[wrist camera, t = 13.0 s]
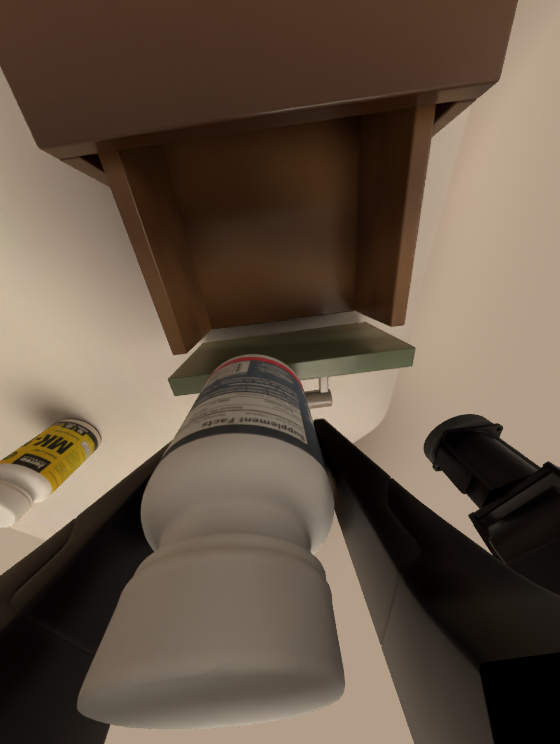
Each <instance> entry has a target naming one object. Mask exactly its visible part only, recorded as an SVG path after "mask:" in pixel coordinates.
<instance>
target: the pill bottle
mask: <svg viewBox="0 0 560 744" xmlns="http://www.w3.org/2000/svg"><path fill="white" fill-rule="evenodd" d="M333 515H334V497H333V491H332V487H331V483H330V479H329V475H328V472H327V468H326V464H325V461H324V458H323V454H322V451H321V448H320V444H319V441H318V438H317V434H316V431H315V427H314V424H313V420H312V417H311V413H310V410H309V407H308V403H307V400H306V396H305V393H304V390H303V387H302V384H301V382H300V380H299V378H298V377H297V375H296V374H295V373H294V371H293V370H292V369H291V368H289V367H288V366H287V365H286V364H284V363H283V362H281V361H279V360H277V359H275V358H272V357H269V356H265V355H258V354H248V355H241V356H238V357H234V358H232V359H230V360H228V361H226V362H224V363H223V364H221V365H220V366H219V367H218V368H217V369H216V370H215V371H214V372H213V373H212V375H211V376H210V377H209V379H208V380H207V382H206V384H205V386H204V387H203V389H202V391H201V393H200V394H199V396H198V398H197V400H196V401H195V403H194V405H193V407H192V408H191V410H190V412H189V414H188V415H187V417H186V419H185V420H184V422H183V424H182V425H181V427H180V429H179V430H178V432H177V434H176V436H175V437H174V439H173V440H172V442H171V444H170V445H169V447H168V448H167V450H166V451H165V453H164V454H163V456H162V458H161V459H160V461H159V463H158V465H157V467H156V469H155V470H154V472H153V474H152V476H151V478H150V480H149V482H148V484H147V487H146V489H145V492H144V494H143V499H142V503H141V522H142V527H143V531H144V534H145V537H146V539H147V541H148V543H149V545H150V546H151V548H152V549H153V551H154V553H152V554H151V555H150V556H148V557H147V558H146V559H145V560H144V561H143V562H142V563H141V564H140V565H139V567H138V569H137V570H136V572H135V574H134V577H133V578H132V579H131V580H130V581H129V582H128V583H127V585H126V586H125V588H124V590H123V591H122V593H121V596H120V599H119V601H118V604H117V607H116V609H115V611H114V614H113V616H112V618H111V621H110V623H109V625H108V627H107V630H106V632H105V634H104V636H103V639H102V641H101V643H100V646H99V648H98V650H97V652H96V655H95V657H94V659H93V661H92V664H91V666H90V668H89V670H88V673H87V675H86V677H85V680H84V682H83V685H82V688H81V690H80V693H79V696H78V700H77V709H78V711H79V712H80V713H81V714H82V715H84V716H86V717H88V718H91V719H93V720H96V721H99V722H103V723H107V724H112V725H117V726H124V727H130V728H147V729H208V728H223V727H233V726H242V725H250V724H257V723H265V722H272V721H278V720H283V719H288V718H293V717H296V716H300V715H303V714H307V713H310V712H314V711H316V710H319V709H322V708H325V707H327V706H330V705H331V704H333V703H334V702H336V701H337V700H339V699H340V697H341V696H342V695H343V692H344V688H345V679H344V669H343V664H342V659H341V653H340V647H339V641H338V635H337V629H336V624H335V617H334V612H333V606H332V594H331V590H330V587H329V584H328V583H327V581H326V575H325V571H324V569H323V566H322V565H321V563H320V561H319V560H318V559H317V558H316V557H315V556H314V554H315V553H316V552H317V551H318V550H319V549H320V547H321V546H322V544H323V543H324V541H325V539H326V538H327V535H328V533H329V531H330V528H331V525H332V521H333Z"/></svg>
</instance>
